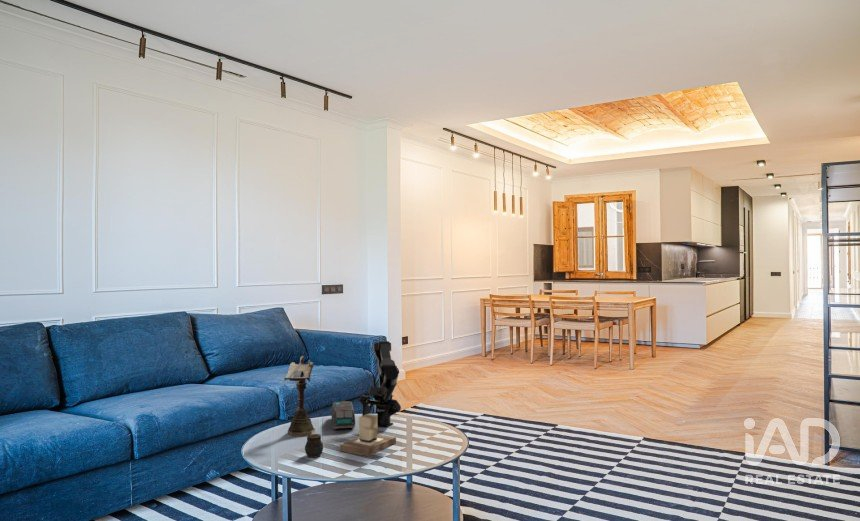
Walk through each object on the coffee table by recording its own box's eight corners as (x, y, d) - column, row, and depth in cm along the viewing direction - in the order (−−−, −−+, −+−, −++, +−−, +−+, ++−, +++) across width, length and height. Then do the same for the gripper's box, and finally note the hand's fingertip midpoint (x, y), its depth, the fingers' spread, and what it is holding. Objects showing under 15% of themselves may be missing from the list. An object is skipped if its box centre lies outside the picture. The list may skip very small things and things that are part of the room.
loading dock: (369, 438, 256) (369, 432, 256) (396, 443, 249) (396, 436, 249) (339, 450, 239) (339, 444, 239) (367, 456, 231) (367, 449, 232)
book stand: (310, 440, 254) (309, 358, 254) (280, 439, 255) (280, 358, 255) (321, 429, 270) (321, 353, 271) (293, 429, 271) (293, 352, 272)
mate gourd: (321, 458, 229) (321, 433, 229) (302, 458, 229) (302, 433, 229) (324, 452, 236) (324, 428, 236) (306, 452, 236) (306, 428, 236)
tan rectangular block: (367, 437, 248) (367, 413, 248) (377, 439, 245) (377, 415, 245) (359, 441, 242) (359, 416, 242) (369, 443, 240) (368, 418, 240)
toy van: (352, 417, 293) (352, 397, 293) (356, 430, 269) (356, 408, 269) (330, 418, 291) (330, 398, 291) (332, 432, 267) (332, 410, 267)
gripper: (361, 376, 255) (345, 407, 246) (397, 380, 246) (381, 413, 236) (372, 391, 262) (357, 422, 253) (407, 396, 253) (392, 428, 243)
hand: (371, 420), depth 246 cm, fingers open, 9 cm apart
